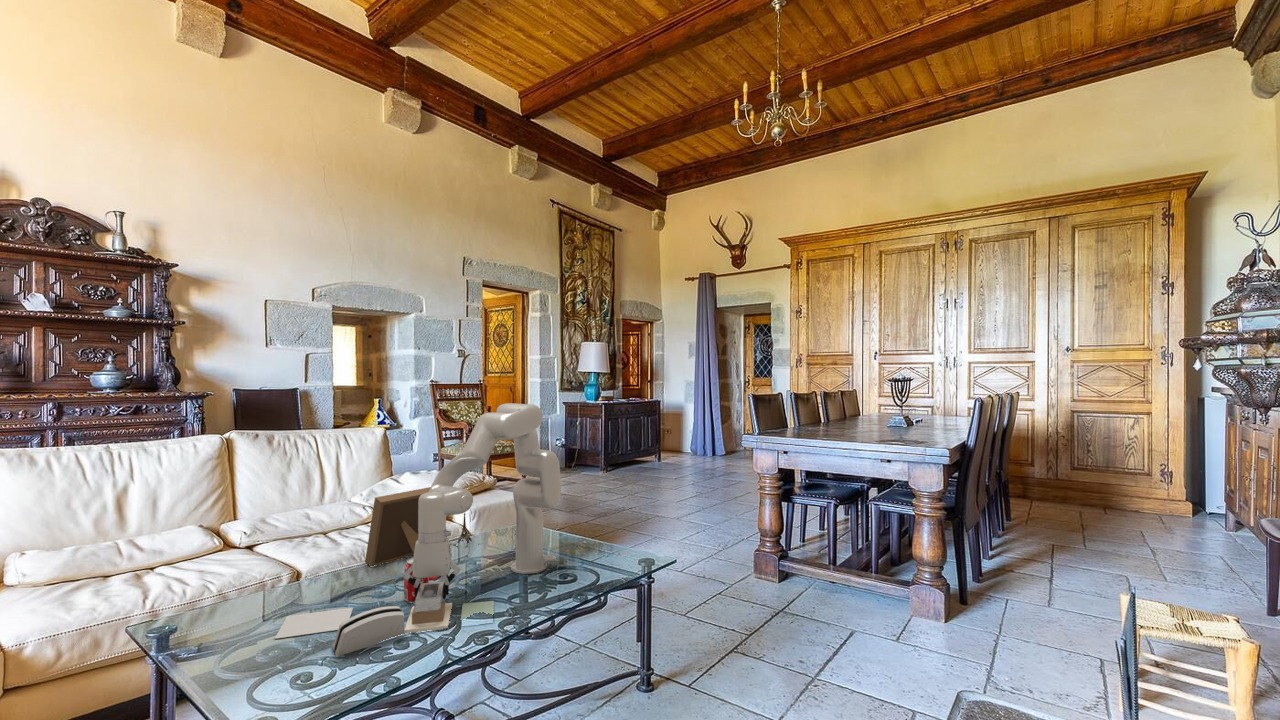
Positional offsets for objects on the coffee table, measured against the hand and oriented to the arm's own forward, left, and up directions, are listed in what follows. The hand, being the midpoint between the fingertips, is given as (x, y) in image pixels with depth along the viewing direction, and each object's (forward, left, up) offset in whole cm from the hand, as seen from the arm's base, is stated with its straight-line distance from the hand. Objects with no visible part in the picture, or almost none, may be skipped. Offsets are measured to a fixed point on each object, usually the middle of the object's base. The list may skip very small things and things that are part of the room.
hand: (431, 597), depth 160 cm
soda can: (+6, -11, -5) cm, 14 cm away
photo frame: (+14, -48, -5) cm, 51 cm away
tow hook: (+5, -30, -5) cm, 31 cm away
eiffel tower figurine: (-5, -66, -5) cm, 67 cm away
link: (0, +4, +1) cm, 4 cm away
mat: (-13, +4, -5) cm, 14 cm away
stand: (0, +4, -5) cm, 6 cm away
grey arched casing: (+13, +14, -5) cm, 20 cm away
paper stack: (+27, -6, -5) cm, 28 cm away
